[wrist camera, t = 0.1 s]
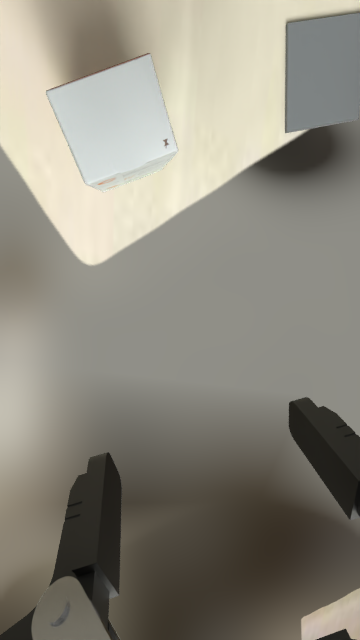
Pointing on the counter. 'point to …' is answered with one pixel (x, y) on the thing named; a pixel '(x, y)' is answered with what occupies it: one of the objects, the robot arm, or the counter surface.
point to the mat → (322, 72)
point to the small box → (115, 123)
